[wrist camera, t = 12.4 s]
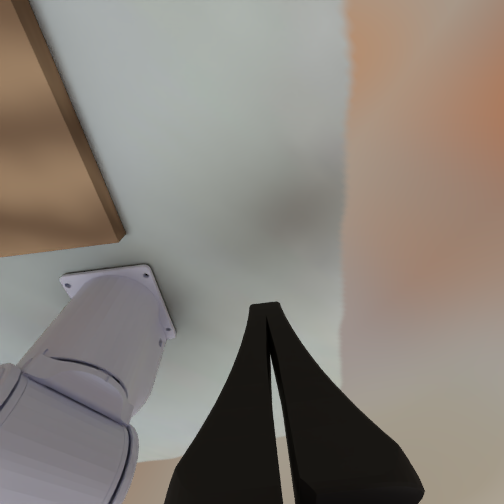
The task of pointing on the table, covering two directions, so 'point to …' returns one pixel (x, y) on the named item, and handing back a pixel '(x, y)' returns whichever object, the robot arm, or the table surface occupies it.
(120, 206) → the table surface
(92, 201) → the board
